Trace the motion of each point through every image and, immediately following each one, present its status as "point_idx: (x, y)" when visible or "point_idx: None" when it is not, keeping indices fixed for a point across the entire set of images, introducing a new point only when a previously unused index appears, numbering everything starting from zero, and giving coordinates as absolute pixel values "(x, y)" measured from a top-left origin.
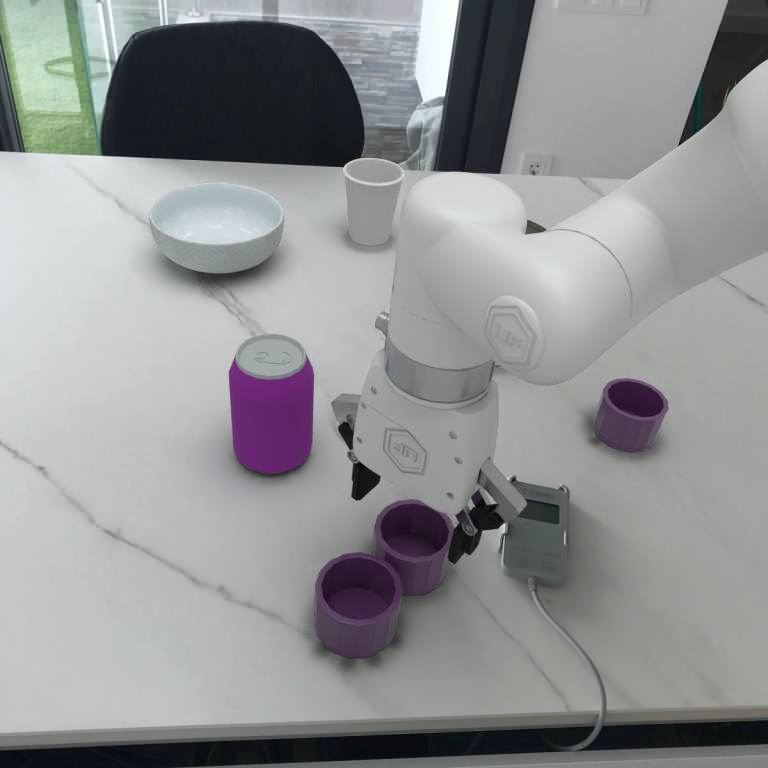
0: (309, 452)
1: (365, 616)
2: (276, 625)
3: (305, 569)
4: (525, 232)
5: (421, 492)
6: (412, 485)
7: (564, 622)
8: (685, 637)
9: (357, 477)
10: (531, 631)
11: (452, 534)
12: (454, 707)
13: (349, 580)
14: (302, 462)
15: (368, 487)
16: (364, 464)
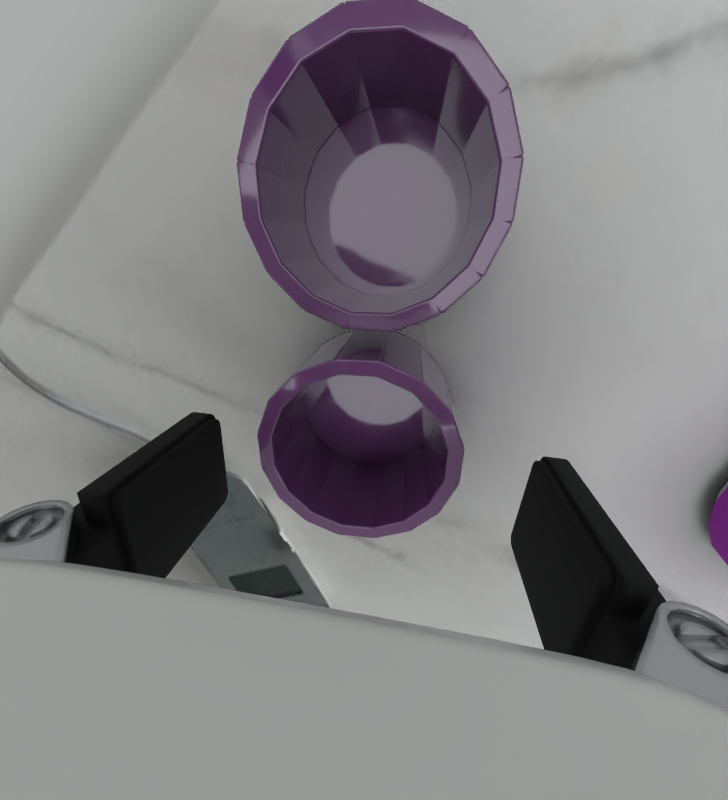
0: (715, 531)
1: (369, 228)
2: (554, 53)
3: (564, 260)
4: None
5: (46, 672)
6: (116, 717)
7: (114, 436)
8: (5, 495)
9: (600, 535)
10: (134, 395)
11: (278, 488)
12: (116, 166)
13: (444, 271)
14: (717, 502)
15: (531, 512)
16: (667, 697)
